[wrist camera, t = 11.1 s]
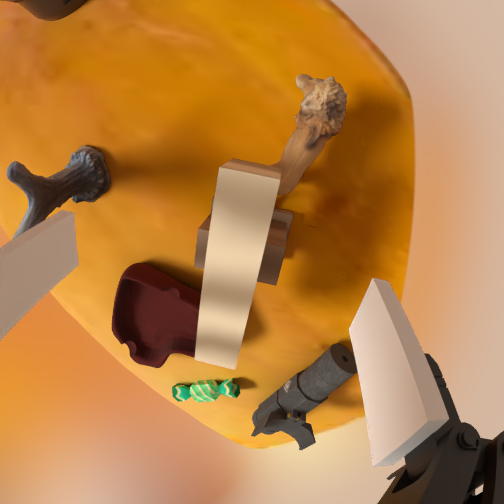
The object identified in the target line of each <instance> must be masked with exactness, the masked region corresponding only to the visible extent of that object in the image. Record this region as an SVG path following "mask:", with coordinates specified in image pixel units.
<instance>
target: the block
mask: <svg viewBox="0 0 504 504" xmlns="http://www.w3.org/2000/svg"><path fill="white" fill-rule="evenodd" d="M281 171H282V169H281V168H277V167H272V166H267V165H263V164H258V163H253V162H248V161H243V160H238V159H232V160H230V161H228V162H227V163H225V164H224V165H222V166H221V167H219V172H218V178H217V184H216V190H215V197H214V203H213V210H212V216H211V223H210V230H209V237H208V244H207V252H206V259H205V267H204V275H203V283H202V292H201V300H200V309H199V319H198V328H197V338H196V349H195V360H198V361H201V362H205V363H209V364H213V365H217V366H221V367H225V368H229V369H234V370H235V368H236V364H237V360H238V356H239V352H240V348H241V343H242V339H243V335H244V331H245V327H246V323H247V319H248V315H249V311H250V307H251V303H252V299H253V294H254V290H255V286H256V282H257V278H258V274H259V269H260V265H261V261H262V257H263V253H264V248H265V244H266V240H267V236H268V231H269V227H270V223H271V219H272V214H273V210H274V206H275V201H276V197H277V193H278V188H279V184H280V179H281Z"/></svg>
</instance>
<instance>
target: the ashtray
mask: <svg viewBox="0 0 504 504" xmlns="http://www.w3.org/2000/svg"><path fill="white" fill-rule="evenodd" d="M200 300H201V293H200V292H198V291H196V290H194V289H192V288H190V287H188V286H186V285H184V284H182V283H180V282H178V281H176V280H175V279H173V278H172V277H170V276H168V275H167V274H165V273H163V272H162V271H160V270H158V269H156V268H154V267H152V266H150V265H148V264H144V263H135V264H132V265H131V266H129V267H128V268H127V269H126V270H125V271H124V273H123V274H122V276H121V278H120V281H119V284H118V288H117V292H116V296H115V301H114V308H113V316H112V331H113V334H114V335H115V337H116V338H117V339H118V340H119V342H120V343H121V344H123V343H125V344H127V346H128V347H129V350H130V357H131V358H132V359H133V360H134V361H135V362H136V363H138V364H141V365H146V366H151V367H155V368H160V367H161V366H162V365H163V364H164V363H165V361H166V360H167V358H168V357H169V355H170V354H172V353H181V354H185V355H188V356H191V357H194V358H195V349H196V338H197V328H198V319H199V309H200Z"/></svg>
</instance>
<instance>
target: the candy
mask: <svg viewBox="0 0 504 504" xmlns="http://www.w3.org/2000/svg"><path fill="white" fill-rule="evenodd" d="M233 379H235V378H233ZM233 379H228V380H225V381H224V382H223V383H222V384H220V385H219V384H218V383H217V382H216V381H215V380H205V381H195V382H194V383H193V384H192V385H191V387H190V388H189V387H187V386H185V385H181V384H176V385H175V386H173V387H172V392H173V397H174V398H175V399H176V400H177V401H186V400H187V399H188V398H190V397H191V396H192V397H193V398H194V399H195V400H196V402H208V401H216V399H217V398H218V396H219V395H220V393H221V394H223V395H226V396H229V397H235V398H237V397H238V396H239V394H240V386H239V385H235V384H234V383H232V381H233Z"/></svg>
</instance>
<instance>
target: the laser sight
mask: <svg viewBox="0 0 504 504" xmlns="http://www.w3.org/2000/svg"><path fill="white" fill-rule="evenodd" d="M357 372H358V370H357V365H356V360H355V356H354V355H353V353H352V352H351V351H350V350H349V349H347V348H346V347H345V346H343V345H340V344H333V345H332V346H331V347H330V348H329V349H328V350H327V351H326V352H325V353H323V354H322V355H321V356H320V357H319V358H318V359H317V360H316V361H315V362H314V363H313V364H312V365H310V366H309V367H308V368H307V369H306V370H303V371H301V372H299V373H297V374H296V375H295V376H293V377H292V378H291V379H290V380H289V381H288V382H287V383H285V384H284V385H283V386H282V387H281V388H280V389H278V390H277V391H276V392H275V393H274V394H272V395H271V396H270V397H269V398H268V399H266V400H265V401H264V402H263V403H261V404H260V405H259V408H258V409H257V410H256V411H255V412H254V414H253V416H252V421H253V424H254V426H255V429H254V431H253V433H252V435H251V436H254V437H255V436H256V435H258V434H259V433H264V434H269V435H270V434H274V433H275V432H279V431H283V432H285V433H287V434H289V435H290V436H292V437H293V438H295V439H296V441H297V442H298V444H299V447H300V448H299V450H303V449H305V448H307V447H308V446H310V445H312V444H314V443H315V438H314V434H313V430H312V426H311V424H309V423H306V413H308V412H309V411H311V410H312V409H314V408H315V407H316V406H318V405H319V404H321V403H322V402H323V401H325V400H326V399H327V398H328V395H329V394H331V393H332V392H333V391H334V390H336V389H337V388H338V387H340V386H341V385H342V384H343V383H345V382H346V381H347V380H348V379H349V378H351V377H352V376H353V375H354V374H355V373H357Z"/></svg>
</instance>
